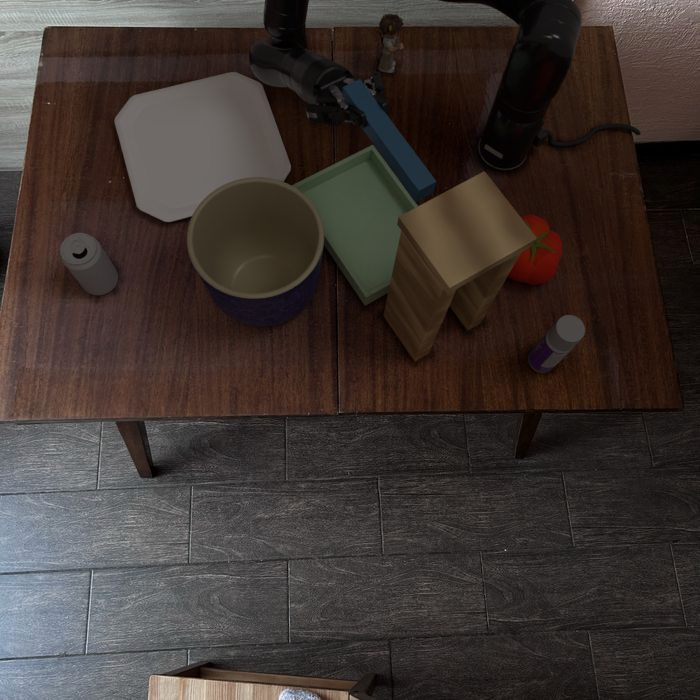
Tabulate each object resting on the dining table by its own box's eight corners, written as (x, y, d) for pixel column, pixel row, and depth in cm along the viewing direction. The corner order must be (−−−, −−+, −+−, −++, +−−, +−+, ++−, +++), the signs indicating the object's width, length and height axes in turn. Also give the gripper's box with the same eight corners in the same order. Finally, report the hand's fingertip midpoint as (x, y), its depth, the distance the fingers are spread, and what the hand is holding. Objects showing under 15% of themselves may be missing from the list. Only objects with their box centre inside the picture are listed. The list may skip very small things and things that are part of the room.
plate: (256, 73, 138) (255, 65, 136) (299, 193, 129) (298, 186, 127) (111, 107, 134) (108, 100, 132) (145, 234, 125) (142, 228, 123)
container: (525, 348, 120) (552, 315, 106) (552, 346, 120) (582, 313, 106) (530, 374, 118) (558, 343, 104) (557, 372, 119) (588, 341, 105)
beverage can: (90, 303, 120) (65, 272, 109) (77, 273, 122) (51, 240, 111) (125, 287, 121) (104, 256, 110) (111, 258, 123) (90, 224, 112)
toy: (399, 81, 138) (407, 23, 124) (372, 76, 138) (377, 17, 124) (404, 57, 140) (413, -3, 126) (377, 52, 141) (383, -9, 126)
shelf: (445, 273, 124) (484, 170, 94) (484, 327, 121) (537, 238, 91) (380, 310, 121) (398, 216, 91) (417, 366, 118) (449, 288, 88)
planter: (191, 257, 124) (168, 200, 106) (300, 221, 127) (296, 159, 109) (228, 360, 117) (211, 317, 100) (341, 319, 121) (344, 271, 103)
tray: (371, 156, 132) (373, 144, 129) (447, 259, 125) (450, 250, 122) (291, 196, 129) (290, 185, 125) (364, 305, 122) (365, 297, 118)
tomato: (474, 243, 127) (485, 219, 119) (535, 222, 128) (549, 198, 120) (504, 303, 123) (517, 282, 115) (566, 281, 125) (583, 259, 117)
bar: (358, 92, 104) (360, 78, 101) (433, 193, 99) (436, 181, 96) (341, 100, 103) (342, 86, 100) (415, 202, 98) (418, 190, 95)
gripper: (276, 78, 107) (326, 111, 95) (353, 42, 110) (412, 70, 98) (290, 122, 112) (339, 159, 100) (363, 87, 115) (420, 119, 103)
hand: (375, 115), depth 99 cm, fingers closed on bar, 3 cm apart
